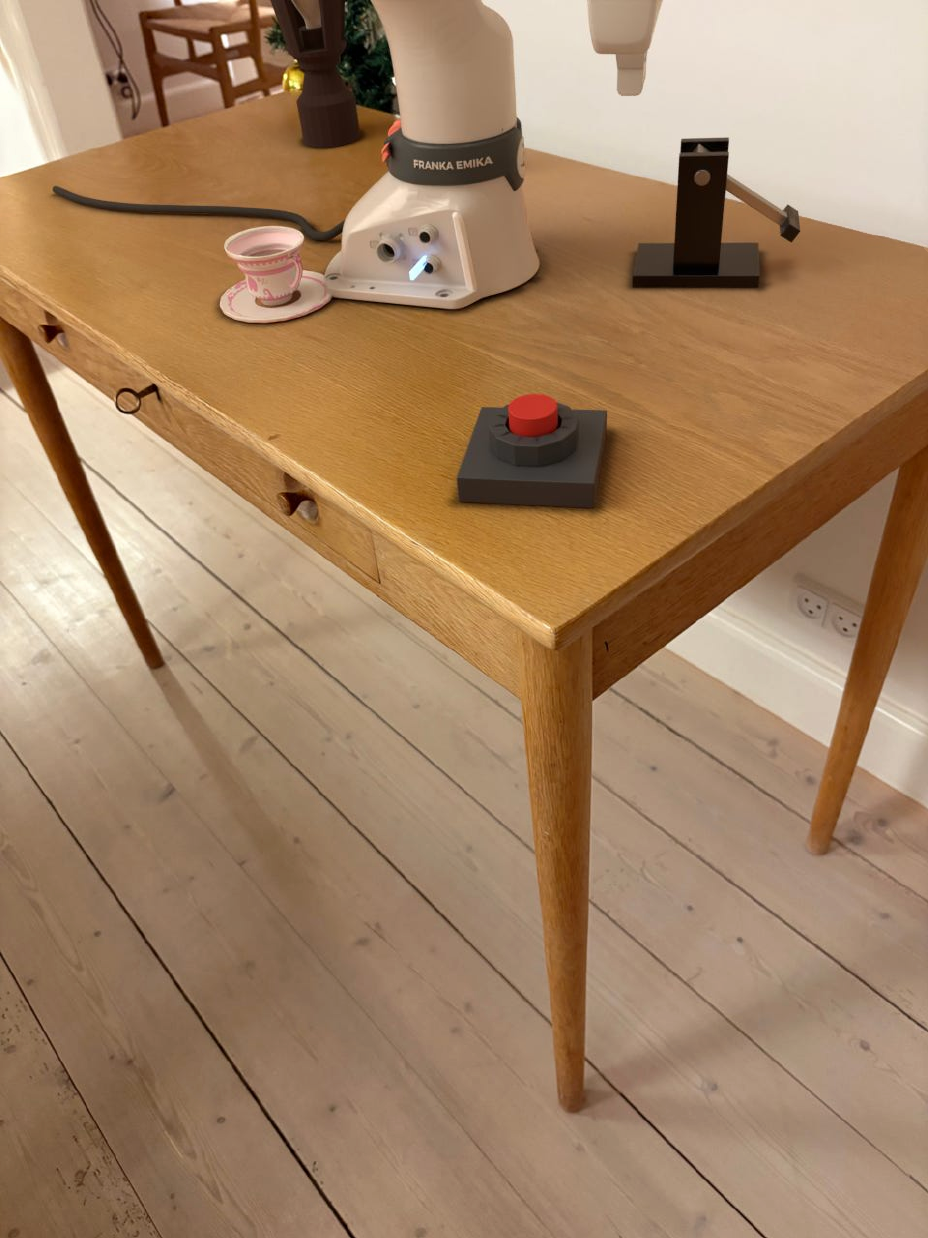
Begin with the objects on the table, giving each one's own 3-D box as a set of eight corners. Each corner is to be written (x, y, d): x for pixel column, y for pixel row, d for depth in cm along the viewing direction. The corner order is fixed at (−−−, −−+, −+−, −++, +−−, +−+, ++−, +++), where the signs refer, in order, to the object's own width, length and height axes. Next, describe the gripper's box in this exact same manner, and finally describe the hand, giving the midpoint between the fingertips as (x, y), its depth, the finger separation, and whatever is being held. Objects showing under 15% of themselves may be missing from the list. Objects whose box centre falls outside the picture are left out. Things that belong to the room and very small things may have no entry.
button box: (459, 502, 75) (454, 456, 72) (483, 430, 82) (479, 386, 79) (594, 508, 73) (594, 461, 70) (607, 434, 80) (607, 389, 77)
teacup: (197, 309, 105) (181, 250, 100) (280, 266, 111) (268, 210, 107) (275, 335, 98) (262, 274, 94) (359, 289, 105) (350, 229, 101)
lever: (785, 227, 99) (802, 206, 97) (787, 247, 95) (804, 226, 94) (683, 160, 97) (699, 138, 95) (681, 179, 93) (697, 155, 92)
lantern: (387, 147, 139) (352, -122, 119) (280, 161, 138) (227, -106, 118) (379, 116, 150) (346, -134, 130) (280, 129, 149) (231, -120, 129)
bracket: (757, 253, 103) (770, 130, 95) (758, 287, 97) (772, 159, 89) (637, 254, 105) (641, 134, 97) (632, 287, 99) (635, 162, 92)
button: (505, 438, 74) (504, 417, 73) (513, 413, 77) (512, 392, 76) (554, 440, 73) (553, 419, 72) (560, 414, 76) (560, 393, 75)
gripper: (607, -168, 71) (603, 50, 81) (568, -123, 57) (568, 137, 66) (699, -174, 70) (683, 48, 79) (683, -129, 56) (666, 136, 65)
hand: (631, 89), depth 73 cm, fingers closed
